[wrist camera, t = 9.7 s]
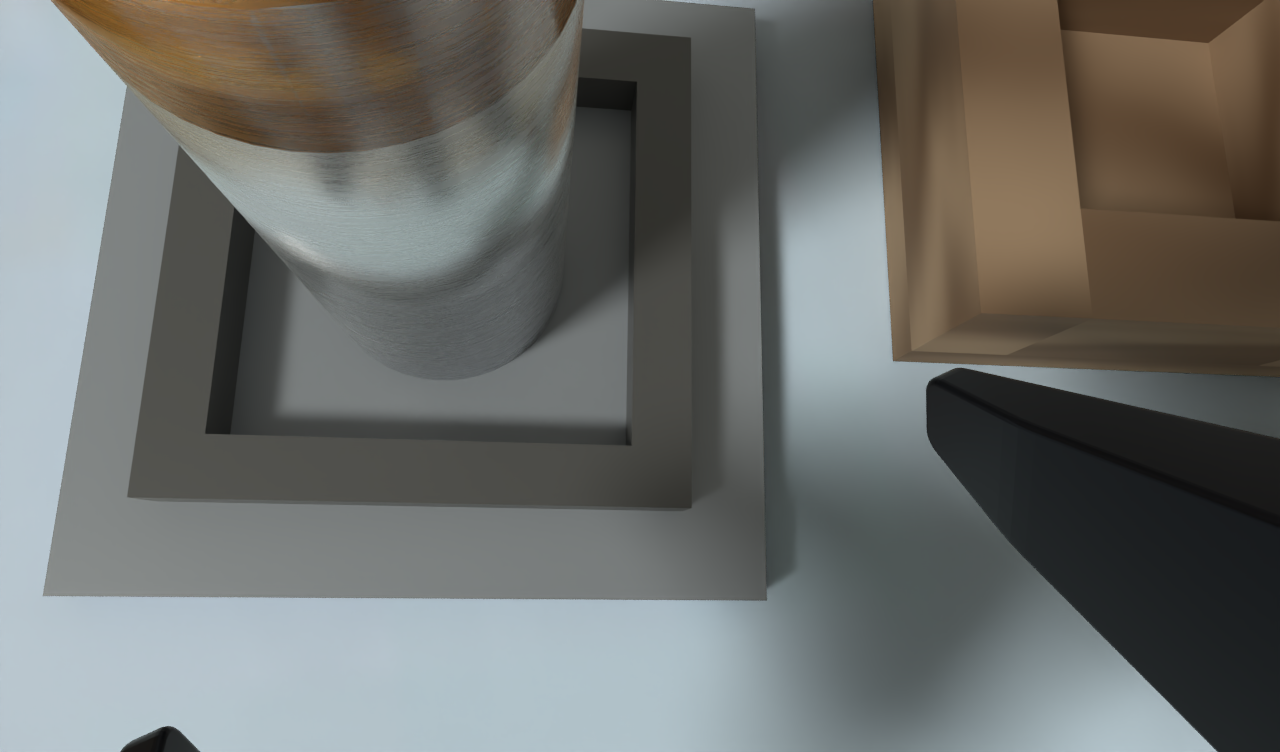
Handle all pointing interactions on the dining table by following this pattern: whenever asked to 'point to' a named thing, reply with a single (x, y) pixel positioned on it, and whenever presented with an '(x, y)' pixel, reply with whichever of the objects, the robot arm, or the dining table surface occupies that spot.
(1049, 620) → the dining table surface
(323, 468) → the tray
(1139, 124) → the socket block
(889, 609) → the dining table surface
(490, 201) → the gold-topped cylinder
